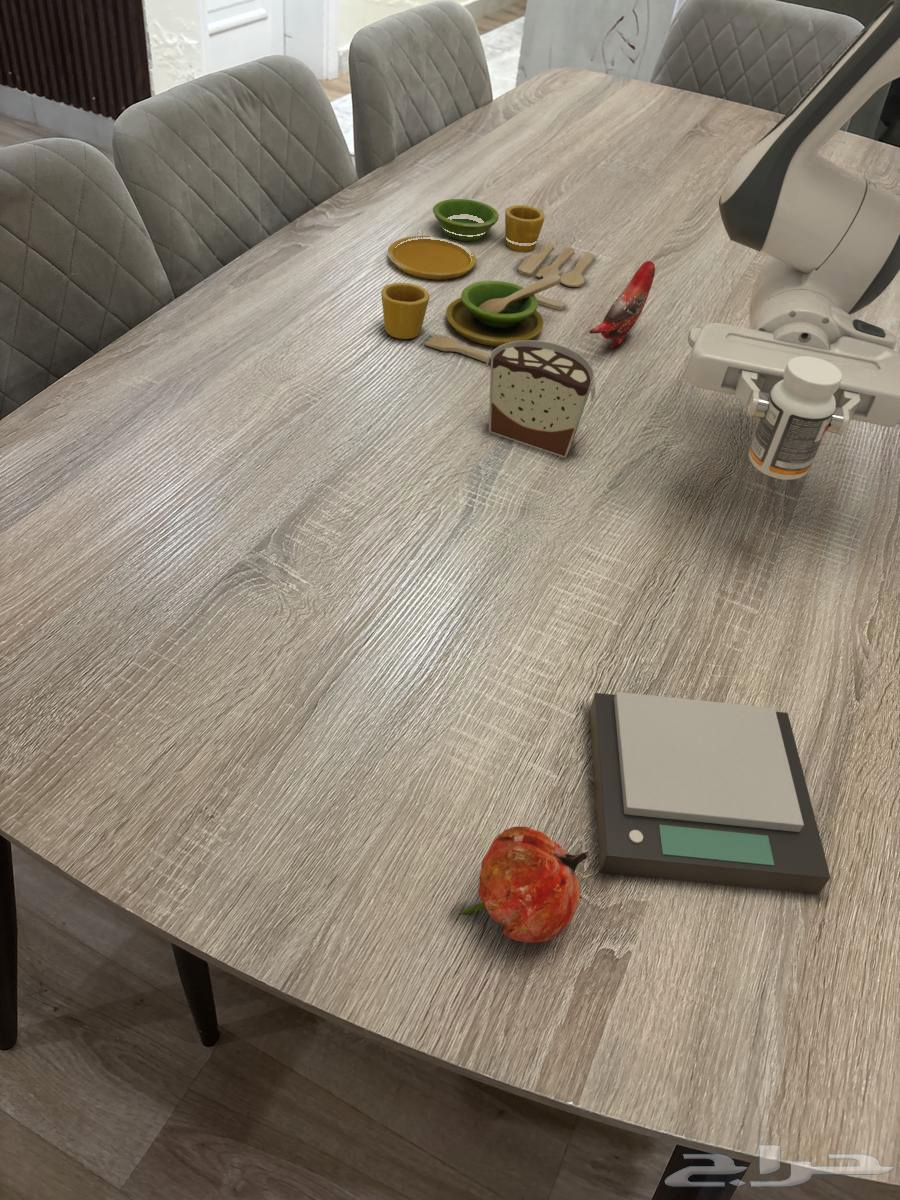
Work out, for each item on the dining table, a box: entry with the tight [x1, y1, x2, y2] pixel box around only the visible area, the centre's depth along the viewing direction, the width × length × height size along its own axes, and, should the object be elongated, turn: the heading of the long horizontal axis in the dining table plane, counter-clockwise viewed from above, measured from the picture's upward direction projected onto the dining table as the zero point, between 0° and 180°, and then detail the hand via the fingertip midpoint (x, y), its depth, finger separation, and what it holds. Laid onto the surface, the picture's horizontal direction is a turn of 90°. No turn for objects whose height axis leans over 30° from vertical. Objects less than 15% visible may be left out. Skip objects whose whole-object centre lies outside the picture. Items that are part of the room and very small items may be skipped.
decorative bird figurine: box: [588, 260, 656, 351], centre depth 119 cm, size 3×18×10 cm, turn 147°
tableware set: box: [380, 198, 595, 363], centre depth 130 cm, size 41×28×6 cm
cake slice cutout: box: [484, 339, 596, 459], centre depth 104 cm, size 12×6×10 cm, turn 65°
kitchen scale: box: [588, 691, 831, 895], centre depth 72 cm, size 16×15×4 cm
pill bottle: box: [748, 356, 842, 481], centre depth 84 cm, size 6×6×10 cm
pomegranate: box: [459, 826, 591, 944], centre depth 63 cm, size 7×7×10 cm
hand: (798, 418), depth 83 cm, fingers closed on pill bottle, 5 cm apart
